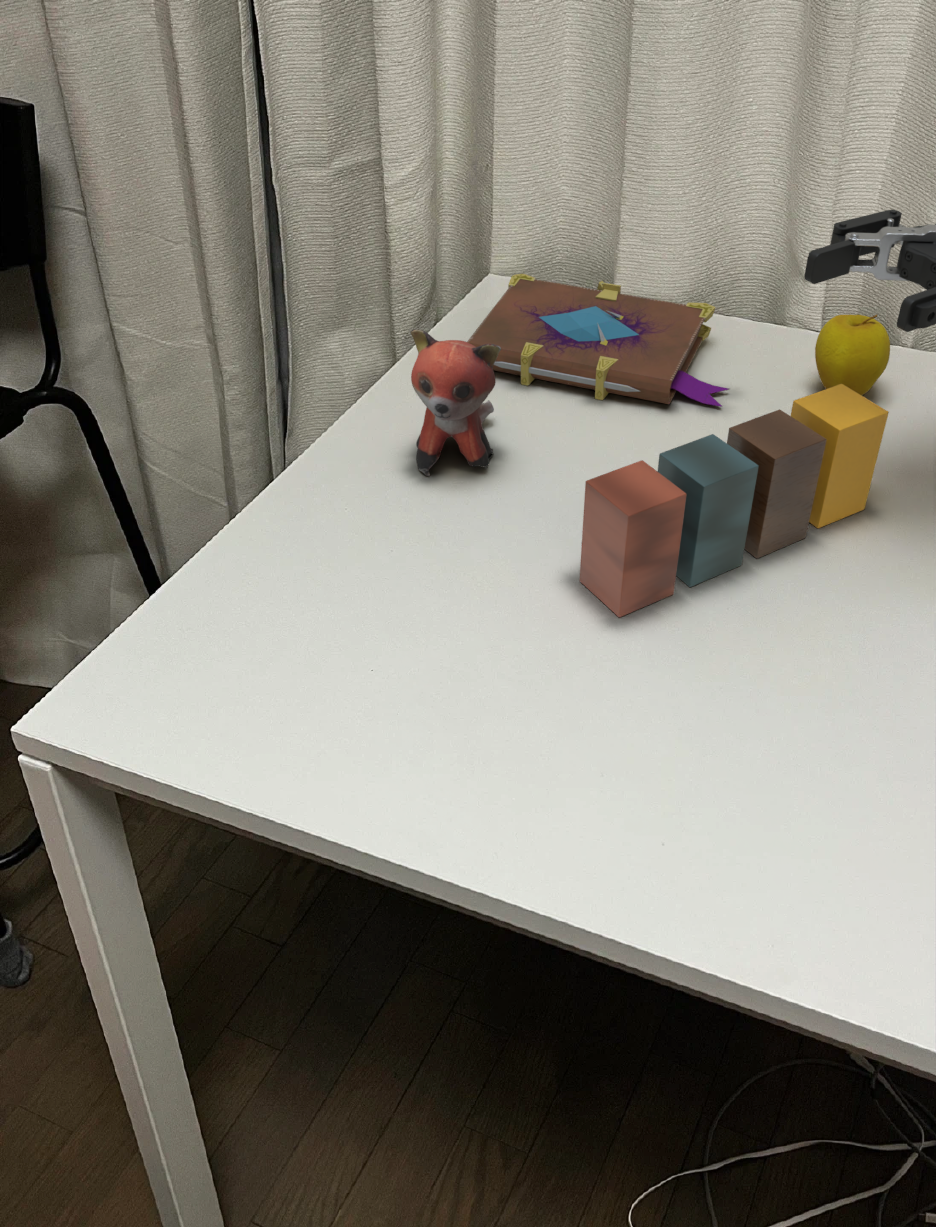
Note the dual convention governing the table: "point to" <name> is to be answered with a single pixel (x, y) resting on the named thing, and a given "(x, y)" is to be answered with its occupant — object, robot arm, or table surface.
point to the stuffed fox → (453, 397)
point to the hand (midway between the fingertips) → (854, 291)
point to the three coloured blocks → (698, 510)
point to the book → (598, 339)
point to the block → (842, 449)
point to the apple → (852, 352)
